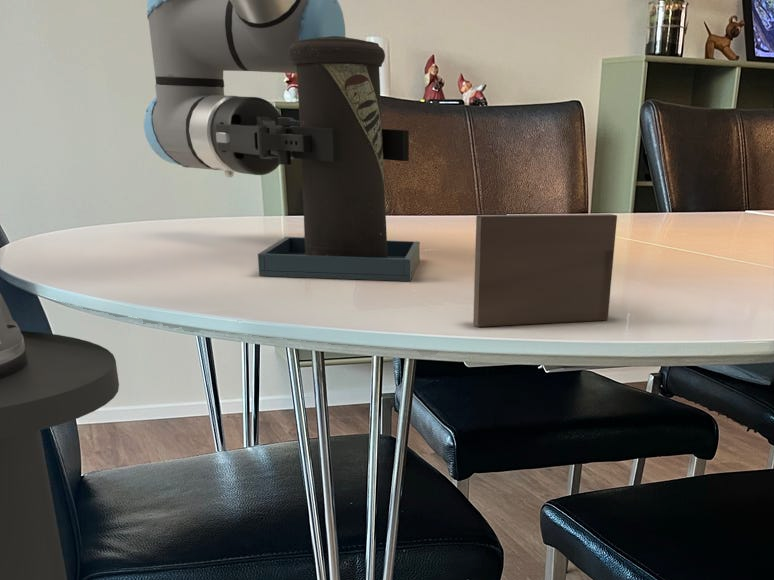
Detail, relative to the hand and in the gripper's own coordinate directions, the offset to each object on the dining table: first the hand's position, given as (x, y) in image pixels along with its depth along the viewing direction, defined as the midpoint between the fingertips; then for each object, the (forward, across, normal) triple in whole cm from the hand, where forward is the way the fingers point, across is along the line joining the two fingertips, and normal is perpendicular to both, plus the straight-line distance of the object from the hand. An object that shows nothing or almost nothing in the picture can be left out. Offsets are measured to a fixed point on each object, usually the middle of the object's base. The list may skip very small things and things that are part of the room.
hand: (372, 145), depth 95 cm
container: (-5, 0, -11) cm, 12 cm away
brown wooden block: (+21, +3, -12) cm, 24 cm away
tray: (-5, 0, -12) cm, 13 cm away
